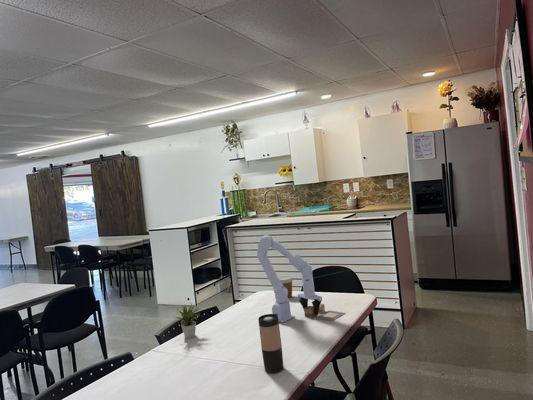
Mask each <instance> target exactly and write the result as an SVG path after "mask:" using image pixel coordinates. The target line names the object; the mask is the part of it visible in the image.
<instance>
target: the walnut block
mask: <svg viewBox="0 0 533 400" xmlns="http://www.w3.org/2000/svg"><path fill="white" fill-rule="evenodd" d="M303 312H304V317H305V318H309V319H315V318H316V317H318V316H320V315H319V314H320V313H318V314H317V315H315V313H314V307H313V305H308V307H306V308H304V309H303Z"/></svg>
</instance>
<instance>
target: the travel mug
mask: <svg viewBox="0 0 533 400" xmlns="http://www.w3.org/2000/svg"><path fill="white" fill-rule="evenodd" d="M257 319H258V327H259V329H258V330H259V337H260V338H259V339H260V347H261V355H262V359H263V361H262V362H263V367H264V371H265V373H267V374H269V375H270V374H272V375H273V374H279V373H281V372H283V370H284V358H283V347H282V338H281V331H280V322H279V321H278V316H277V315H276V314H272V313H267V314H263V315H260V316H259V317H258V318H257Z"/></svg>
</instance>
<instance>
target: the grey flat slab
mask: <svg viewBox="0 0 533 400" xmlns="http://www.w3.org/2000/svg"><path fill="white" fill-rule="evenodd" d="M343 314H344V315H346V312H343V311H342V312H341V311H337V310H327V311H324V312H322V313H320V315H318V316H316V317H315V319H319V320H323V321H328V322H329V321H330V322H333V321H336V319H339V318H340V317H342V316H344V315H343Z"/></svg>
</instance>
